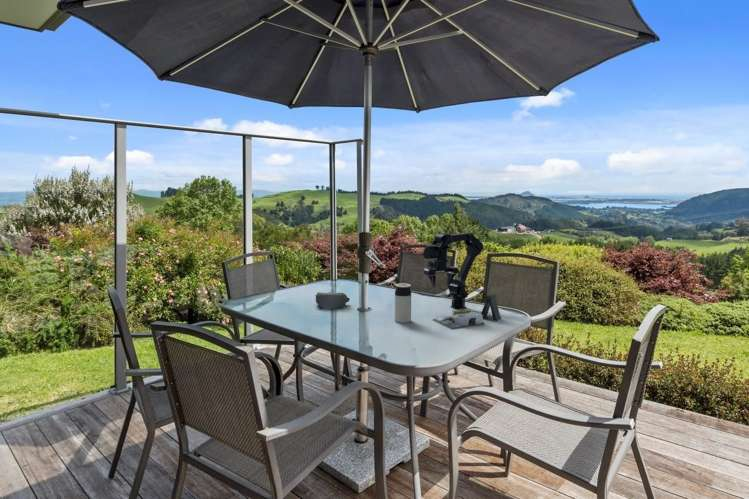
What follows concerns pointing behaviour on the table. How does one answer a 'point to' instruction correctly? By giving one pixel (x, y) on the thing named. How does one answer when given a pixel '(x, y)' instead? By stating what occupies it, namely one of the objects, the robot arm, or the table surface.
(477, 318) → the frame
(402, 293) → the travel mug
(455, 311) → the plate
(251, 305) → the table surface
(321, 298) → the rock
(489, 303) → the phone stand
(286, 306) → the table surface
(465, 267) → the robot arm
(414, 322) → the table surface
